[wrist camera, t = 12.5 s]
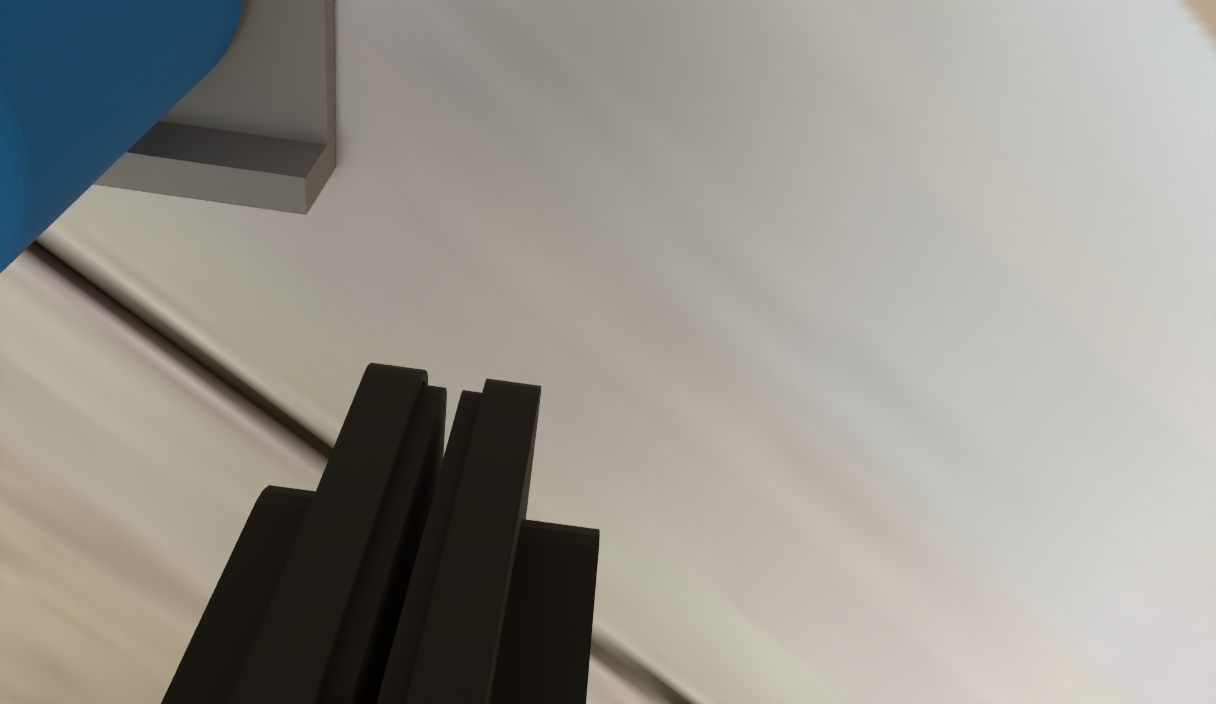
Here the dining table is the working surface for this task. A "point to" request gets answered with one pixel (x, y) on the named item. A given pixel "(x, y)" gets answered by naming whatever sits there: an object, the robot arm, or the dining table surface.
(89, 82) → the beverage can
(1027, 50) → the dining table surface
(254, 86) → the tray
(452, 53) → the dining table surface
